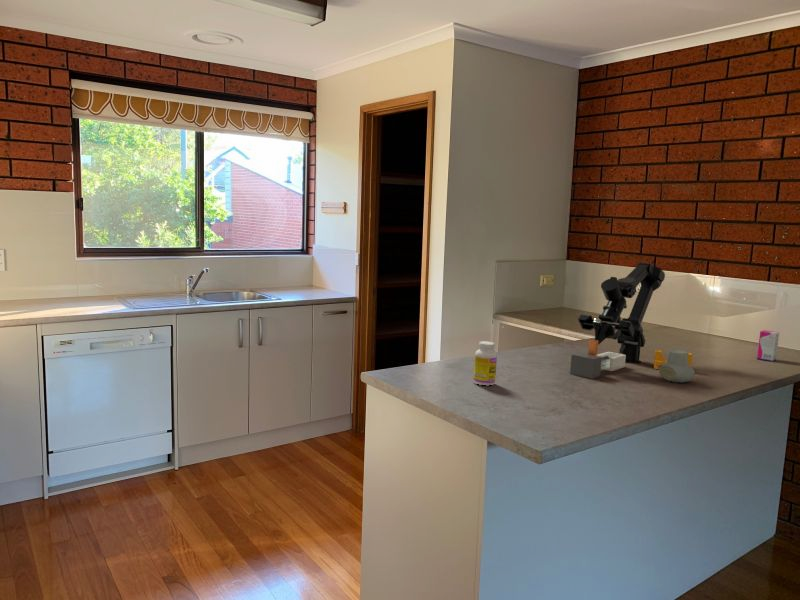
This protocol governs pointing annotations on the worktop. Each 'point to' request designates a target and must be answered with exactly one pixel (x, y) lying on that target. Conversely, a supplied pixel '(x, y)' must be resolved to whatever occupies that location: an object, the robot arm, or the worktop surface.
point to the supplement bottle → (485, 364)
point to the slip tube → (593, 351)
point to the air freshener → (677, 367)
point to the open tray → (614, 361)
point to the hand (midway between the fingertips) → (596, 344)
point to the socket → (585, 365)
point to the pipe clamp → (660, 360)
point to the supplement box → (768, 345)
